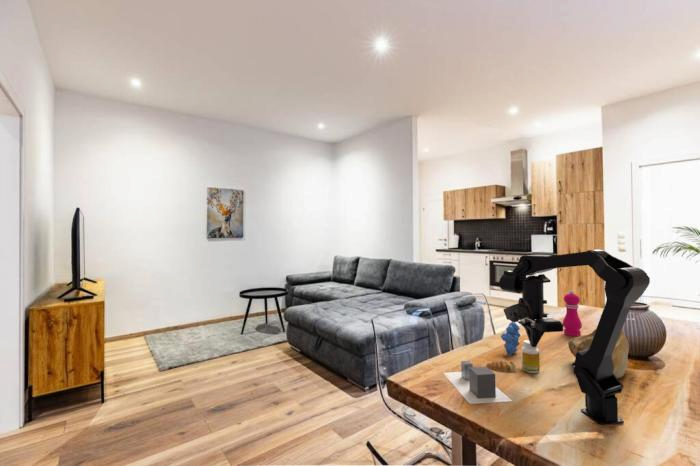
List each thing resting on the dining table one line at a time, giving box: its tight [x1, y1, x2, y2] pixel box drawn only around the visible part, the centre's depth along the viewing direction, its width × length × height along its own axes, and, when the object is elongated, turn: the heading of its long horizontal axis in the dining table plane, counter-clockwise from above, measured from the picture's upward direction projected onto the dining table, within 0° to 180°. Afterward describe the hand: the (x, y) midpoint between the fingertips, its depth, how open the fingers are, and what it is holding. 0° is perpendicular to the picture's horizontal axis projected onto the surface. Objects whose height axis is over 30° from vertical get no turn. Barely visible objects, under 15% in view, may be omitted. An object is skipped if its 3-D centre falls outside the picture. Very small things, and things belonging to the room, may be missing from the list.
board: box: [443, 371, 513, 405], centre depth 101 cm, size 20×12×1 cm, turn 5°
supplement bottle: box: [520, 339, 541, 374], centre depth 114 cm, size 5×5×10 cm
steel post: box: [460, 360, 474, 380], centre depth 106 cm, size 3×3×5 cm
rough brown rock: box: [567, 328, 630, 379], centre depth 115 cm, size 23×17×15 cm
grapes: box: [500, 321, 521, 356], centre depth 130 cm, size 12×7×12 cm, turn 136°
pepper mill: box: [562, 289, 583, 337], centre depth 151 cm, size 7×7×20 cm
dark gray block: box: [469, 366, 497, 399], centre depth 96 cm, size 5×5×7 cm
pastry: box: [485, 359, 517, 373], centre depth 114 cm, size 9×7×4 cm
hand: (533, 346), depth 103 cm, fingers closed
